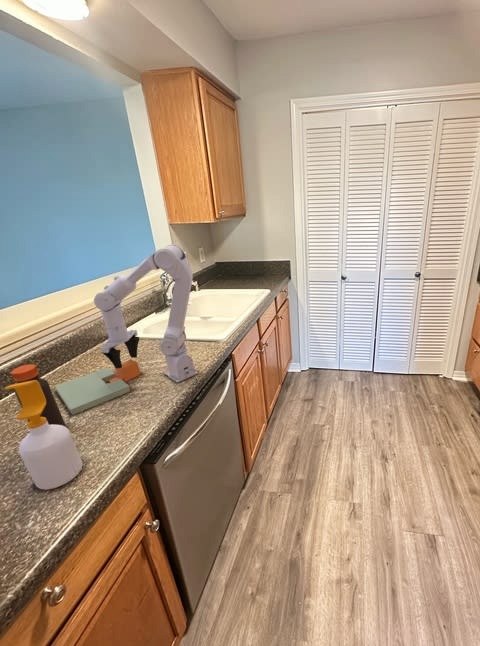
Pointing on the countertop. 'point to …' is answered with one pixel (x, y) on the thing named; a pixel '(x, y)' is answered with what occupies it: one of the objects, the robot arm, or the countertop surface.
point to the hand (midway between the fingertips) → (126, 362)
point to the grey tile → (91, 390)
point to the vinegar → (51, 408)
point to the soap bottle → (45, 441)
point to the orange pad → (127, 371)
